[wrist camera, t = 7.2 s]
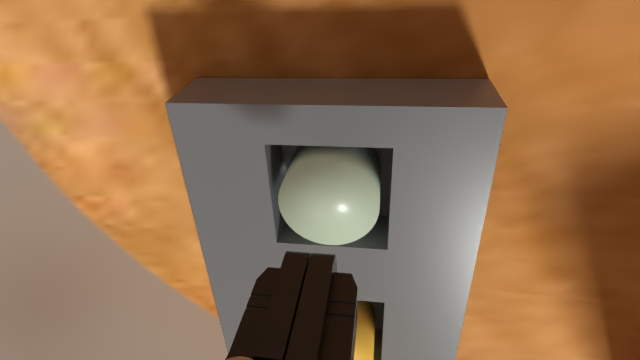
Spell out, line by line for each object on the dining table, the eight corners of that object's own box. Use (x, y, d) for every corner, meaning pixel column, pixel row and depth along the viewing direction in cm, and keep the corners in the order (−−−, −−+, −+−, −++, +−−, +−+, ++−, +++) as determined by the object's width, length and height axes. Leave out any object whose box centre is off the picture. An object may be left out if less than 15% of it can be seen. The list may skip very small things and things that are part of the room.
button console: (197, 77, 18) (164, 102, 15) (489, 78, 16) (507, 107, 14) (261, 397, 30) (250, 440, 28) (429, 418, 29) (433, 466, 26)
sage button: (287, 129, 18) (273, 159, 15) (382, 132, 17) (381, 162, 15) (294, 206, 20) (282, 242, 17) (379, 210, 19) (378, 248, 17)
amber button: (296, 282, 21) (285, 324, 19) (376, 288, 20) (374, 333, 18) (302, 334, 23) (292, 377, 21) (374, 341, 22) (372, 386, 20)
